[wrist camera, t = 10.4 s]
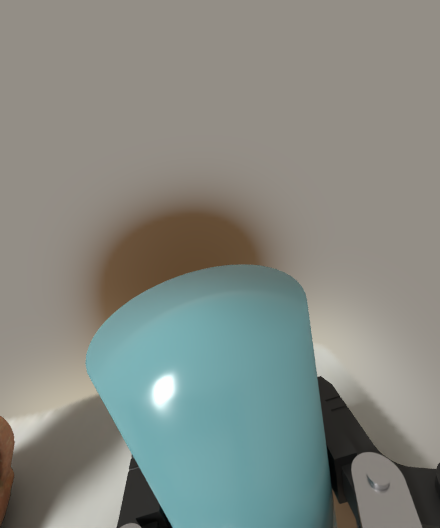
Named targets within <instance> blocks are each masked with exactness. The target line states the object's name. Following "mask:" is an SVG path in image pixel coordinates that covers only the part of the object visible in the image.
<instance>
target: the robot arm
mask: <svg viewBox="0 0 440 528" xmlns="http://www.w3.org/2000/svg"><path fill="white" fill-rule="evenodd" d="M317 379H318V387H319V394H320V402H321V409H322V417H323V424H324V432H325V439H326V447H327V454H328V462H329V469H330V477H331V484H332V489H333V491H334V493H335V496H336V498H337V500H338V502H339V504H342V503H345V502H348V504H349V506H350V508H351V510H352V512H353V514H354V516H355V519H356V526H357V528H440V463H439V464H438V466H437V469H426V468H415V467H407V466H403V465H400V464H397V463H395V462H393V461H391V460H390V459H388V458H387V457H385V456H384V455H383V454H382V453H380V452H379V450H378V449H377V448H376V447H375V446H374V444H373V443H372V442H371V440H370V439H369V437H368V436H367V434H366V433H365V431H364V430H363V429H362V427H361V426H360V424H359V423H358V421H357V420H356V418H355V417H354V416H353V414H352V413H351V411H350V410H349V408H347V406H346V404H345V403H344V401H343V400H342V398H340V395H339V394H338V392H337V391H336V390H335V388H334V387H333V385H332V384H331V383H329V382H328V381H326V380H325V379H324V378H322V377H321V376H320V377H317ZM117 528H173V527H172V525H171V524H170V522H169V520H168V518H167V516H166V515H165V513H164V511H163V509H162V507H161V506H160V504H159V502H158V500H157V498H156V497H155V495H154V493H153V491H152V489H151V488H150V486H149V484H148V482H147V480H146V478H145V477H144V475H143V473H142V471H141V469H140V468H139V466H138V464H137V462H136V460H135V459H134V457H133V455H132V459H131V461H130V466H129V472H128V476H127V481H126V486H125V491H124V496H123V501H122V506H121V510H120V515H119V520H118V524H117Z"/></svg>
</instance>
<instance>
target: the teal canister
mask: <svg viewBox="0 0 440 528" xmlns="http://www.w3.org/2000/svg"><path fill="white" fill-rule="evenodd" d="M86 368H87V373H88V375H89V377H90V379H91V381H92V382H93V384H94V386H95V388H96V390H97V392H98V393H99V395H100V397H101V399H102V401H103V403H104V404H105V406H106V408H107V410H108V412H109V413H110V415H111V417H112V419H113V421H114V422H115V424H116V426H117V428H118V430H119V431H120V433H121V435H122V437H123V439H124V440H125V442H126V444H127V446H128V448H129V450H130V451H131V453H132V455H133V457H134V459H135V460H136V462H137V464H138V466H139V468H140V469H141V471H142V473H143V475H144V477H145V478H146V480H147V482H148V484H149V486H150V488H151V489H152V491H153V493H154V495H155V497H156V498H157V500H158V502H159V504H160V506H161V507H162V509H163V511H164V513H165V515H166V516H167V518H168V520H169V522H170V524H171V525H172V527H173V528H337V522H336V514H335V507H334V499H333V492H332V484H331V477H330V469H329V462H328V454H327V447H326V439H325V432H324V424H323V417H322V409H321V402H320V394H319V387H318V379H317V372H316V364H315V357H314V349H313V342H312V335H311V327H310V320H309V312H308V305H307V299H306V294H305V292H304V290H303V288H302V286H301V285H300V284H299V283H298V282H297V281H296V280H295V279H294V278H293V277H291V276H290V275H288V274H286V273H284V272H282V271H279V270H277V269H273V268H270V267H265V266H259V265H226V266H218V267H212V268H207V269H202V270H198V271H194V272H191V273H187V274H184V275H181V276H178V277H175V278H173V279H170V280H168V281H165V282H163V283H161V284H159V285H156V286H154V287H153V288H151V289H149V290H147V291H145V292H143V293H141V294H140V295H138V296H137V297H135V298H133V299H132V300H130V301H129V302H127V303H126V304H125V305H123V306H122V307H121V308H120V309H118V310H117V311H116V312H115V313H114V314H112V315H111V316H110V317H109V318H108V319H107V320H106V321H105V322H104V324H103V325H102V326H101V327H100V328H99V330H98V331H97V333H96V334H95V336H94V337H93V339H92V341H91V343H90V345H89V348H88V351H87V354H86Z"/></svg>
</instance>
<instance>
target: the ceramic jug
mask: <svg viewBox="0 0 440 528" xmlns="http://www.w3.org/2000/svg"><path fill="white" fill-rule="evenodd" d="M14 443H15V441H14V434H13V431H12V429H11V427H10V425H9V423H8V422H7V421H6V420H5V419H4V418H3V417H1V416H0V527H1V524H2V521H3V519H4V516H5V513H6V509H7V506H8V502H9V498H10V493H11V492H10V491H11V487H12V483H13V479H14V472H13V470H12V468H11V461H12V455H13V450H14Z"/></svg>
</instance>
